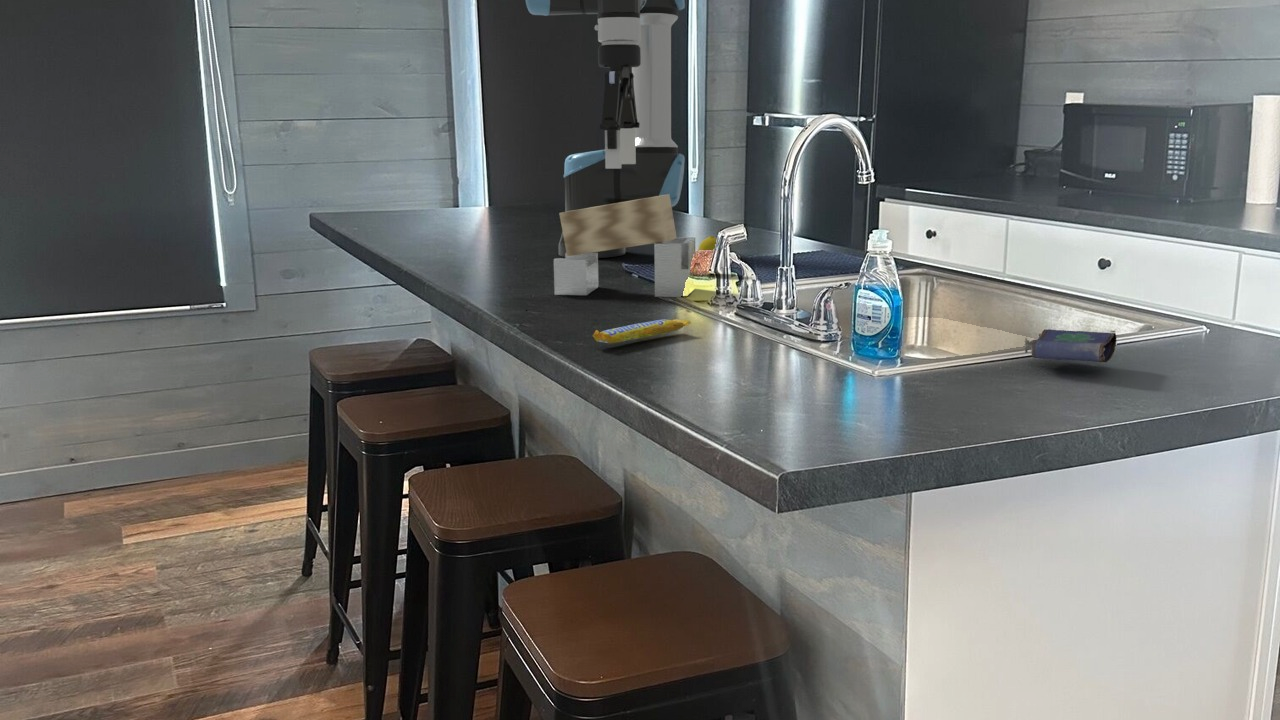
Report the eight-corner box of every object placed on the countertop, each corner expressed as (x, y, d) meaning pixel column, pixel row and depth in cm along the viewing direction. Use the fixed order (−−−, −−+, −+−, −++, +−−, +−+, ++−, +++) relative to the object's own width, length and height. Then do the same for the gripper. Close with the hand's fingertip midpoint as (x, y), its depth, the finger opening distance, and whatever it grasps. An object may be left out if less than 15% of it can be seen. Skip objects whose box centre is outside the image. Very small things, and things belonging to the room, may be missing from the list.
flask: (1104, 345, 137) (1016, 341, 143) (1104, 368, 138) (1016, 363, 143) (1116, 329, 145) (1032, 326, 150) (1116, 351, 145) (1032, 347, 151)
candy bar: (606, 346, 158) (606, 333, 158) (588, 342, 162) (588, 329, 161) (692, 330, 169) (692, 318, 169) (674, 326, 172) (673, 315, 172)
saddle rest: (567, 286, 210) (566, 252, 209) (598, 286, 209) (597, 252, 208) (554, 294, 201) (553, 259, 199) (586, 295, 200) (585, 259, 198)
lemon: (725, 273, 224) (725, 234, 223) (724, 277, 219) (724, 237, 217) (698, 273, 225) (698, 234, 223) (696, 277, 220) (696, 237, 218)
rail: (567, 256, 203) (559, 213, 202) (578, 253, 208) (571, 210, 206) (666, 241, 195) (659, 196, 194) (676, 238, 199) (669, 194, 198)
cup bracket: (663, 287, 207) (663, 237, 205) (695, 288, 206) (695, 237, 204) (654, 296, 197) (654, 243, 195) (688, 297, 196) (687, 243, 194)
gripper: (612, 47, 207) (614, 162, 212) (582, 41, 183) (585, 170, 188) (652, 46, 206) (653, 162, 211) (626, 39, 182) (628, 170, 187)
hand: (621, 166), depth 199 cm, fingers open, 13 cm apart
